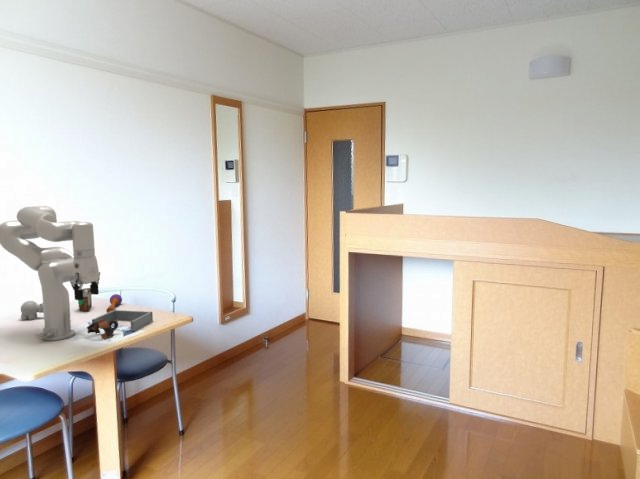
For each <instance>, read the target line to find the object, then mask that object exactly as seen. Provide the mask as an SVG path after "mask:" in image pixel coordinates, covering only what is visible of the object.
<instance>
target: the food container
mask: <svg viewBox="0 0 640 479" xmlns="http://www.w3.org/2000/svg"><path fill="white" fill-rule="evenodd" d="M81 290H83V300H77V304H78V310H79V312H81V311H82V312H83V313H87V312H88V313H89V312H90V311H91V310H92V308H91V307H93V306H92V303H93V302H92V294H91V292H90V287H86V288H82V289H81Z"/></svg>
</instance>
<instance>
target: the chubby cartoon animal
mask: <svg viewBox="0 0 640 479" xmlns="http://www.w3.org/2000/svg"><path fill="white" fill-rule="evenodd" d="M20 313H21V315H20V320H22V321H24V320H30V321H32V320H35V319H36V318H38V314H37V313H40V314H41V313H43V314H44V310H43V302H42V303H39V304H38V303H37V302H36V301H33V300H27V301H25V302H24V303H22V305H21V306H20Z"/></svg>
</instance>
